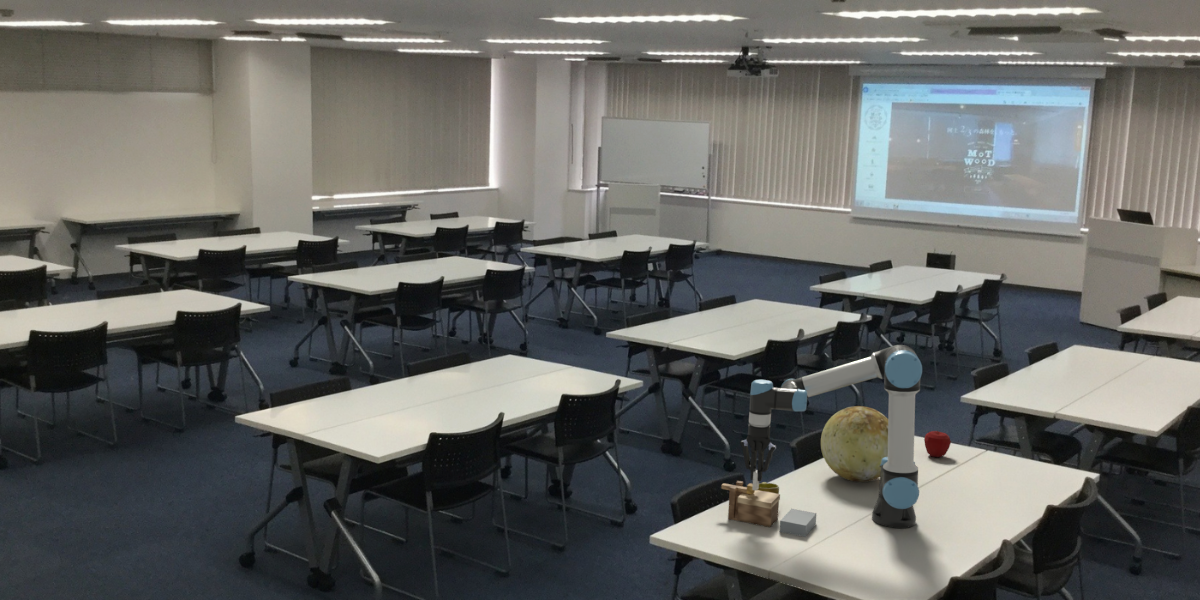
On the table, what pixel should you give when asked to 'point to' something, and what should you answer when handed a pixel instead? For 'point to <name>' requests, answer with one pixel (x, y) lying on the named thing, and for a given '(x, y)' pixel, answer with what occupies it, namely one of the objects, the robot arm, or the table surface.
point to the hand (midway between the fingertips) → (755, 489)
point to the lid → (759, 499)
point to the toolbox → (750, 510)
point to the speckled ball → (855, 443)
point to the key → (740, 488)
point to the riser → (798, 522)
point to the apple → (937, 443)
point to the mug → (769, 487)
